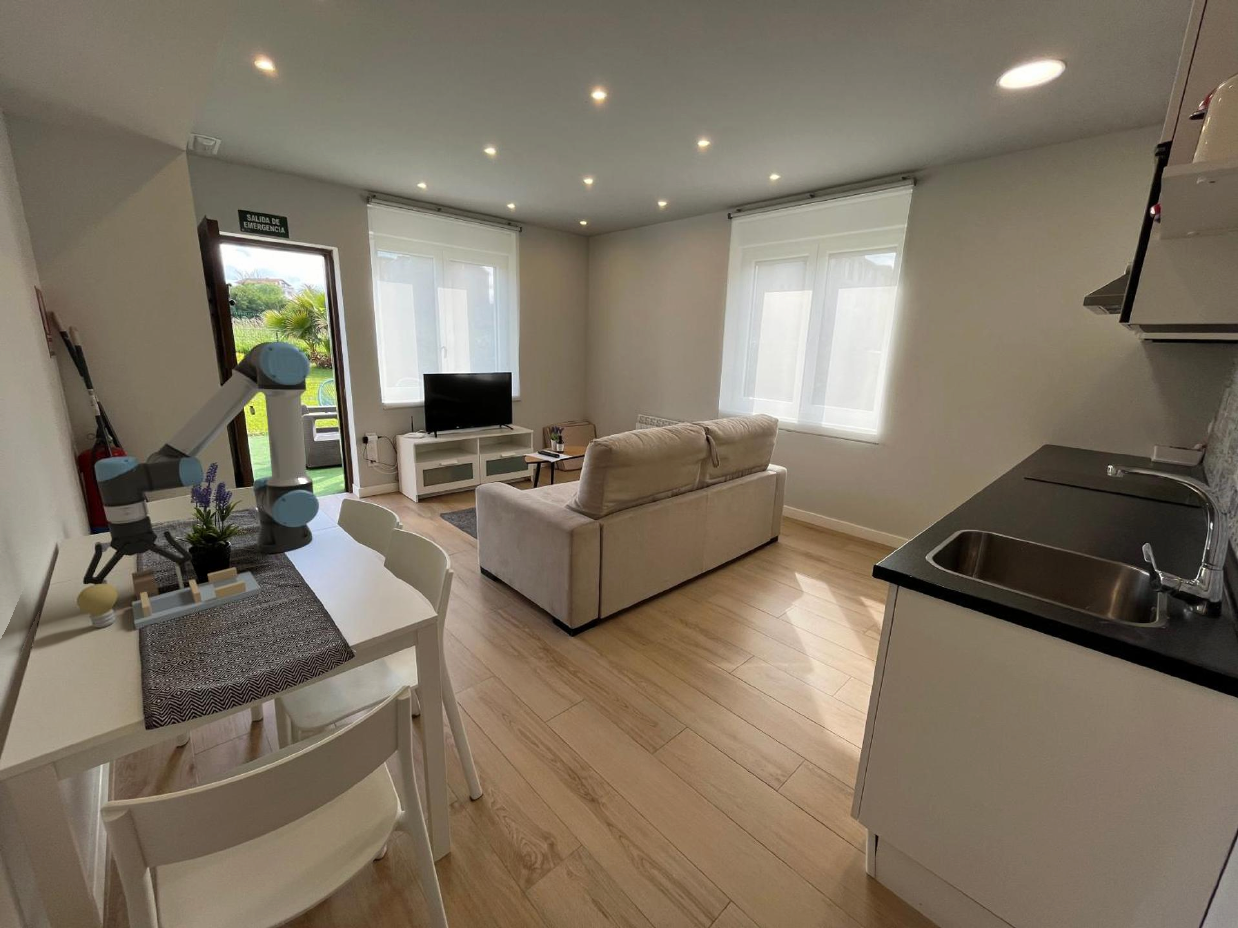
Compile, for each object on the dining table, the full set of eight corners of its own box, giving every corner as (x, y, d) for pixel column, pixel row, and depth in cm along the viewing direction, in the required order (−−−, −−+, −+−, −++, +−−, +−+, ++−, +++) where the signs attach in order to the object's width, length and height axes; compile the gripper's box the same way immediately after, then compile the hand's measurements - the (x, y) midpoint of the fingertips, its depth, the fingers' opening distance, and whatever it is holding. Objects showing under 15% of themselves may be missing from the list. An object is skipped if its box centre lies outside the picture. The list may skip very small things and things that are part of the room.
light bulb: (85, 635, 111) (73, 595, 108) (84, 625, 115) (73, 586, 112) (124, 624, 115) (114, 585, 113) (122, 614, 119) (113, 576, 117)
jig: (133, 607, 123) (129, 592, 122) (250, 576, 139) (248, 563, 138) (136, 629, 113) (132, 613, 112) (261, 592, 130) (258, 579, 129)
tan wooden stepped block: (137, 594, 129) (131, 573, 128) (157, 588, 132) (152, 568, 131) (138, 605, 124) (133, 583, 123) (160, 599, 127) (154, 578, 125)
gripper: (53, 535, 112) (76, 619, 117) (195, 510, 129) (210, 584, 134) (55, 527, 117) (77, 608, 122) (191, 504, 134) (206, 575, 139)
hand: (147, 595), depth 128 cm, fingers open, 13 cm apart
